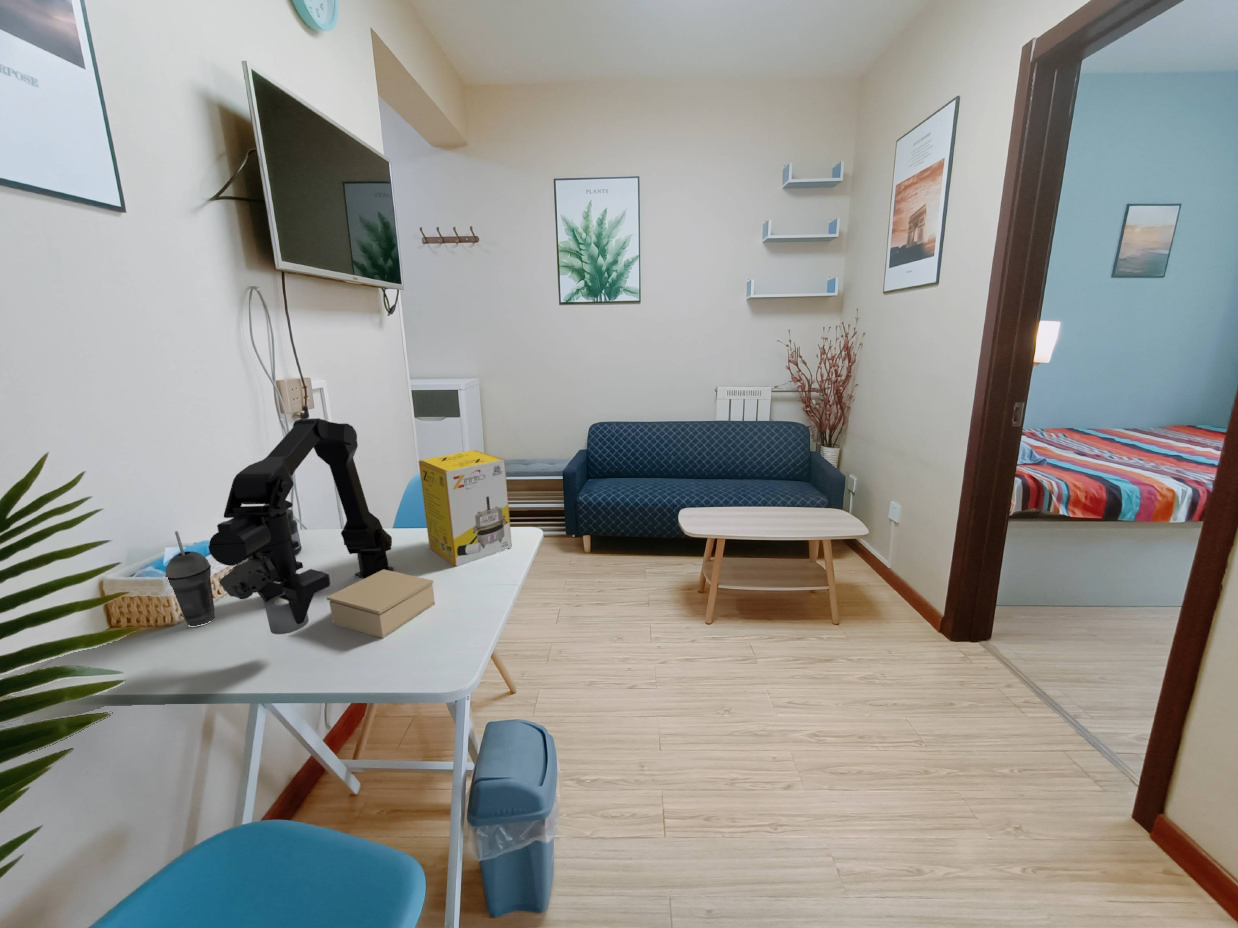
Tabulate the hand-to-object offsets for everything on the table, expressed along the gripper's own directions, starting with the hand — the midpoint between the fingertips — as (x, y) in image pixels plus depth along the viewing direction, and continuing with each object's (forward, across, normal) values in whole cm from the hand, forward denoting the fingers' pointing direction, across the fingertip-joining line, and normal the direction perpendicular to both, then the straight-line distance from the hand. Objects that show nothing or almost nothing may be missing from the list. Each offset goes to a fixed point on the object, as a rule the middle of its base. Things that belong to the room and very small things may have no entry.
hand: (288, 619), depth 94 cm
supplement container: (+8, -47, +28) cm, 55 cm away
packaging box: (+8, -2, +51) cm, 52 cm away
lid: (+2, +4, +17) cm, 18 cm away
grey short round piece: (+1, 0, 0) cm, 1 cm away
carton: (+7, +4, +17) cm, 19 cm away
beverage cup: (+8, -30, 0) cm, 31 cm away
